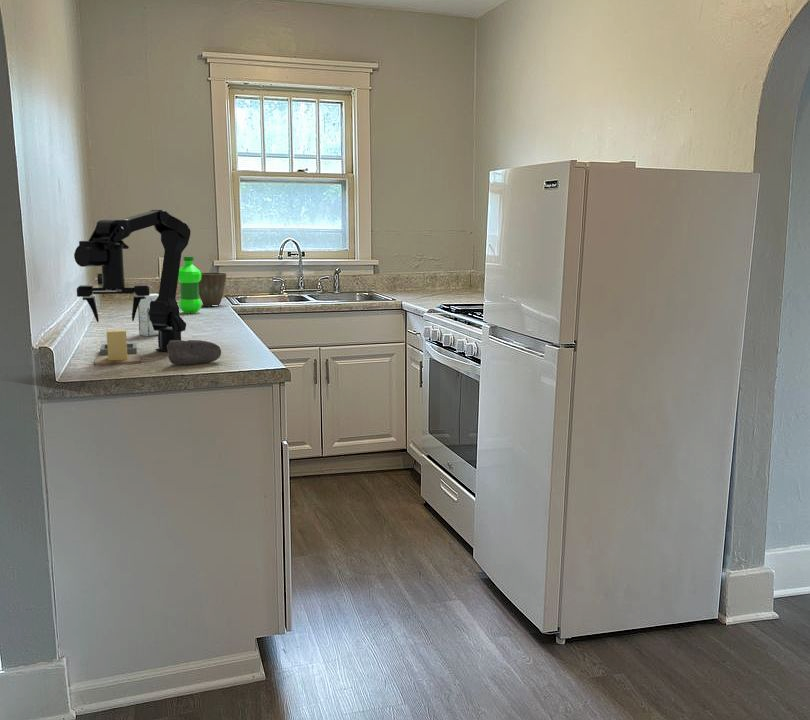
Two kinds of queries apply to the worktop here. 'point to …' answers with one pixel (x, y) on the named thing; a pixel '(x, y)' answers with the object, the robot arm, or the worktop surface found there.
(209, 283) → the plant pot
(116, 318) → the worktop surface
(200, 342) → the perforated stone tool
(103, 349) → the hinged window frame
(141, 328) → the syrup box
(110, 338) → the block
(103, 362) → the walnut board
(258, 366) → the worktop surface
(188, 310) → the plastic bottle
